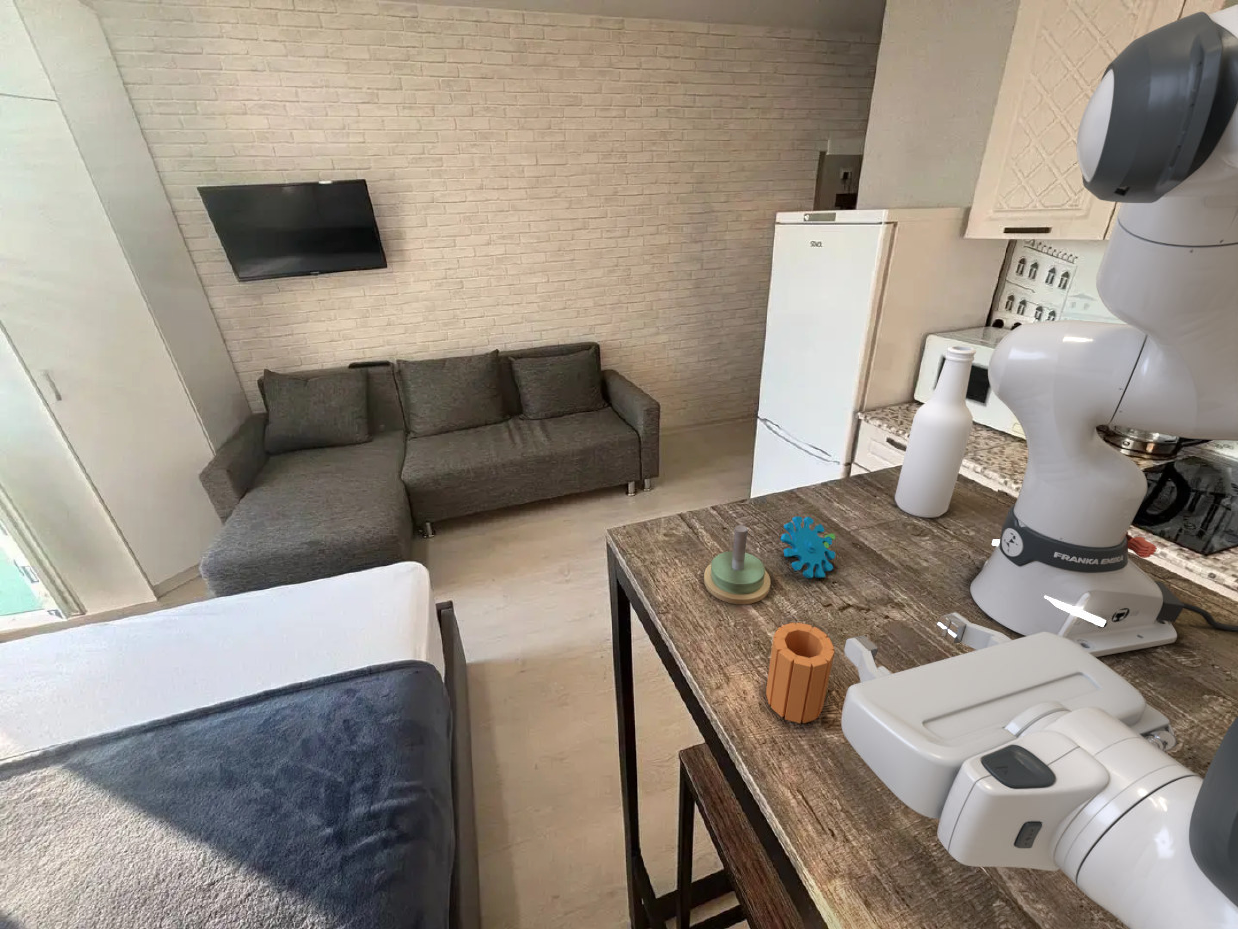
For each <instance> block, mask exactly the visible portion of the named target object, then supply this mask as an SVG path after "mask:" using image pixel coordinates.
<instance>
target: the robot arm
mask: <svg viewBox="0 0 1238 929" xmlns="http://www.w3.org/2000/svg"><path fill="white" fill-rule="evenodd" d="M1081 116H1082V117H1081V120H1080V122H1079V126H1078V129H1077V136H1076V147H1075V148H1076V158H1077V163H1078V166H1079V170H1080V172H1081V177H1082V185H1083V188H1085V189H1086V190H1087V191H1088V192H1090V193H1091V194H1092V195H1093V196H1094V197H1096V198H1097V199H1098V200H1099V201H1104V202H1111V203H1121V204H1120V206H1119V210H1118V212H1117V215H1116V217H1115V221H1114V224H1113V227H1112V230H1111V233H1110V235H1109V238H1108V242H1107V244H1106V247H1105V250H1104V252H1103V256H1102V258H1101V262H1100V265H1099V267H1098V271H1097V273H1096V277H1095V287H1096V291H1097V294H1098V297H1099V298H1100V300H1101V302H1102V303H1103V306H1104V307H1105V308H1106V309H1107V310H1108V312H1109V313H1110V314H1111V315H1113V316H1114V317H1115V318H1117V319H1118V320H1120V321H1122V322H1123V323H1117V322H1116V323H1115V322H1102V321H1092V320H1080V319H1079V320H1078V319H1064V320H1063V319H1062V320H1060V319H1059V320H1046V321H1035V322H1024V323H1021V324H1020V325H1018V326H1017V327H1015V328H1014V329H1012V330H1010V331H1009V332H1008V333H1007V334H1006V335H1004V336H1003V337H1002V339H1001V340H1000V341H999V342H998V343H997V345H996V346H995V347H994V349H993V351H992V354H991V356H990V358H989V361H988V365H987V366H988V367H987V376H988V377H987V378H988V382H989V385H990V388H991V390H992V392H993V393H994V395H995V396H996V398H997V399H998V400H999V401H1001V403H1003V404H1004V405H1005V406H1006V407H1007V408H1008V409H1009V411H1010V412H1011V413H1012V414H1013V415H1014V417H1015V418H1016V420H1017V421H1018V423H1019V425H1020V427H1021V430H1022V432H1023V434H1024V437H1025V441H1026V446H1027V461H1026V467H1025V471H1024V475H1023V479H1022V483H1021V485H1020V489H1019V492H1018V495H1017V499H1016V501H1015V503H1013V504H1011V506H1010V508H1009V509H1008V512H1007V514H1006V517H1005V519H1004V521H1003V523H1002V527H1001V532H1000V538H999V539H992V543H991V545H992V546H995V547H994V549H993V551H992V553H991V555H990V556H989V558H988V559H987V560H986V561H985V562H984V564H983V566H982V569H981V571H980V572H979V573H978V575H976V577H975V578H974V579H973V580H972V581H971V583H970V588H969V590H970V595H971V597H972V599H973V601H974V602H975V603H976V605H978V607H979V609H981V610H982V611H983V612H984V613H985V614H986V615H987V616H989V617H990V619H993V620H994V621H996V622H997V623H999V624H1000V625H1002V626H1004V627H1006V628H1008V629H1009V630H1011V631H1013V632H1015V633H1018V634H1020V635H1022V637H1019V638H1016V639H1011V638H1010V637H1009V636H1007V635H1005V634H1004V633H1003V632H1000V631H997V630H995V629H992V628H988V627H985V626H982V625H980V624H976V623H972V622H971V621H969V620H968V619H966V618H965V617H964V616H962V615H961V614H959V613H958V612H951V613H946V614H943V615H940V616H938V622H937V623H936V627H935V628H936V632H938V634H940V635H941V636H943V637H945V639H946V640H947V641H949V643H951V644H952V645H954V644H958V643H961V644H963V645H964V646H967V647H969V648H971V649H973V651H968V652H966V653H961V654H958V655H955V656H951V657H947V658H944V659H941V660H937V661H933V662H930V663H926V664H922V665H919V666H915V667H911V668H907V669H904V670H901V671H897V672H895V673H892V672H891V671H890V670H888V668H887V667H886V666H883V665H881V666H878V667H877V664H876V656H877V654H878V651H879V647H878V646H877V645H876V644H875V643H874V642H872V641H871V640H869V638H868V637H867V636H866V635H858V636H854V637H850V638H847V639H846V641H845V645H844V649H843V650H844V651H843V652H844V655H845V657H846V658H847V659H848V660H849V661H850V662H851V664H853V665H854V667H856V668H857V674H858V677H859V682H857V683H854V684H852V685H850V686H849V687H848V688H847V690H846V694H845V697H844V701H843V705H842V710H841V717H840V722H841V725H840V726H841V730H842V734H843V735H844V737H845V738H846V740H847V742H848V743H849V744H850V745H851V747H852V748H853V749H854V751H855V752H856V753H857V754H858V756H860V758H861V759H862V760H863V762H864V763H865V764H866V765H867V767H869V769H871V771H872V772H873V773H874V774H875V775H876V776H877V777H878V778H879V780H880V781H881V782H882V783H883V784H884V785H885V787H887V789H888V790H890V791H891V792H892V794H893V795H895V796H896V798H898V800H899V801H901V802H902V803H903V804H905V805H906V806H907V807H908V808H910V810H912V811H914V812H916V813H917V814H919V815H921V816H922V817H923V816H924V817H925V818H929V819H934V820H939V821H938V826H937V831H936V835H937V838H938V841H939V842H940V843H941V845H942V846H943V848H944V849H945V850H946V851H947V853H948V854H949V855H950V856H951V857H952V858H953V859H954V860H955V861H956V862H958V863H959V864H961V865H963V866H967V867H974V868H975V867H976V868H977V867H979V868H983V867H984V868H988V867H989V868H1017V869H1018V868H1019V869H1032V870H1040V871H1048V872H1057V871H1060V870H1061V872H1062V873H1063V874H1064V875H1065V876H1066V877H1067V878H1068V879H1069V880H1070V881H1071V882H1072V883H1073V884H1074V885H1075V886H1076V887H1077V888H1078V889H1079V890H1080V891H1081V892H1082V893H1083V894H1084V895H1085V896H1086V897H1088V898H1089V899H1090V900H1091V901H1093V902H1094V903H1095V904H1097V905H1098V906H1100V907H1101V908H1103V909H1104V910H1105V911H1107V912H1108V913H1109V914H1111V915H1112V916H1114V917H1115V918H1117V920H1119V921H1120V923H1122V924H1123V925H1124V926H1126V927H1127V928H1128V929H1238V716H1236V718H1234V720H1233V721H1232V723H1231V724H1230V725H1229V727H1228V728H1227V730H1226V733H1225V734H1224V736H1223V738H1222V739H1221V741H1220V743H1219V746H1218V747H1217V749H1216V752H1215V754H1214V755H1213V757H1212V759H1211V761H1210V764H1209V767H1208V769H1207V771H1206V773H1205V776H1204V778H1202V777H1201V776H1199V775H1198V774H1196V773H1195V772H1194V771H1192V770H1191V769H1189V768H1187V767H1186V766H1185V765H1183V764H1182V763H1181V762H1179V761H1178V760H1176V759H1175V758H1173V757H1172V756H1171V755H1170V754H1168V753H1166V752H1169V751H1171V750H1174V748H1175V747H1176V746H1177V744H1178V740H1177V737H1176V733H1175V730H1174V728H1173V725H1172V724H1171V721H1170V720H1169V718H1168V717H1167V716H1165V714H1163V713H1162V712H1160V711H1159V710H1157V709H1156V708H1154V707H1153V706H1152V705H1150V704H1148V703H1147V701H1146V698H1145V697H1144V696H1143V695H1142V693H1141V692H1140V691H1139V690H1138V689H1137V688H1136V687H1135V686H1133V685H1132V684H1131V683H1130V682H1129V681H1127V680H1126V679H1125V678H1124V677H1122V676H1121V675H1120V674H1119V673H1117V672H1116V671H1114V670H1113V669H1112V668H1111V667H1109V666H1108V665H1107V664H1105V663H1104V662H1102V661H1101V660H1100V659H1099V658H1098V657H1102V656H1109V655H1113V654H1119V653H1125V652H1131V651H1137V650H1142V649H1147V648H1153V647H1157V646H1163V645H1170V644H1173V643H1175V642H1176V640H1177V639H1178V633H1177V631H1176V629H1175V627H1174V626H1173V624H1172V623H1176V621H1177V619H1178V618H1179V616H1180V614H1181V613H1182V612H1183V610H1188V611H1190V612H1193V613H1196V614H1197V615H1200V616H1201V617H1202V618H1203V619H1204V620H1205V622H1206V623H1207V624H1208V625H1210V626H1211V627H1213V628H1215V629H1219V630H1221V631H1227V632H1233V633H1234V632H1235V633H1236V632H1237V633H1238V625H1231V624H1225V623H1221V622H1218V621H1216V620H1215V619H1214V617H1213V616H1212V615H1211V613H1210V612H1208V611H1206V610H1205V609H1203V608H1201V607H1199V606H1196V605H1195V604H1194V605H1193V604H1191V603H1187V602H1183V601H1181V600H1180V599H1179V598H1178V597H1177V596H1176V595H1175V594H1174V592H1172V591H1171V590H1170V589H1169V587H1167V586H1166V585H1165V584H1164V582H1162V581H1157V580H1154V579H1152V578H1151V577H1150V576H1149V575H1148V574H1147V573H1146V572H1145V571H1144V570H1142V569H1141V568H1140V567H1139V566H1138V565H1137V564H1135V562H1134V561H1132V560H1131V559H1130V558H1129V551H1133V553H1134V554H1136V555H1137V556H1138V557H1139V558H1142V559H1147V558H1150V557H1151V556H1153V555H1155V553H1157V549H1158V548H1157V545H1156V544H1154V543H1152V542H1150V541H1147V540H1146V538H1144V537H1142V536H1134V537H1133V536H1132V535H1131V534H1129V529H1130V527H1131V526H1132V523H1133V521H1134V519H1135V517H1136V515H1137V513H1138V511H1139V509H1140V506H1141V505H1142V503H1143V501H1144V499H1145V497H1146V495H1147V492H1148V480H1147V477H1146V475H1145V473H1144V472H1143V470H1142V469H1141V467H1140V466H1139V465H1138V464H1137V463H1135V461H1134V460H1132V459H1131V458H1129V457H1128V456H1127V455H1126V454H1124V453H1122V451H1120V450H1118V449H1116V448H1115V447H1113V446H1112V445H1110V444H1108V443H1107V442H1105V441H1104V440H1103V439H1102V438H1101V436H1100V434H1099V432H1098V430H1097V427H1098V426H1101V425H1106V426H1108V425H1110V426H1115V427H1121V428H1127V429H1133V430H1137V431H1143V432H1148V433H1149V432H1150V433H1155V434H1161V435H1166V436H1172V437H1177V438H1183V439H1189V440H1205V441H1206V440H1208V441H1228V442H1229V441H1230V442H1231V441H1232V442H1238V3H1237V4H1234V5H1231V6H1229V7H1227V8H1223V9H1222V10H1219V11H1216V12H1213V13H1210V14H1208V13H1207V12H1205V11H1198V12H1195V13H1192V14H1190V15H1187V16H1184V17H1181V18H1179V19H1176V20H1174V21H1172V22H1169V23H1167V24H1164V25H1162V26H1160V27H1158V28H1156V29H1153V30H1152V31H1150V32H1149V31H1148V32H1147V33H1146V34H1143V35H1142V36H1139V37H1138V38H1136V39H1134V40H1133V41H1131V42H1130V43H1129V44H1128V45H1127V46H1126V47H1125V48H1124V49H1123V50H1122V51H1121V52H1120V53H1119V54H1118V55H1117V56H1116V57H1115V58H1114V59H1113V60H1112V61H1111V62H1110V63H1109V64H1108V65H1107V67H1106V69H1105V71H1104V72H1103V75H1102V77H1101V79H1100V82H1099V83H1098V85H1097V86H1096V88H1095V89H1094V91H1093V93H1092V95H1091V96H1090V98H1089V100H1088V102H1087V104H1086V106H1085V109H1084V111H1083V113H1082V115H1081Z"/></svg>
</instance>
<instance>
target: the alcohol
mask: <svg viewBox="0 0 1238 929" xmlns="http://www.w3.org/2000/svg"><path fill="white" fill-rule="evenodd" d="M946 351H947V353H946V354H945V357H944V358H945V360H944V363H943V366H942V368H941V372H940V375H939V377H938V381H937V384H936V386H935V389H934V391H933V394H932V396H931V397H930V399H929V400H928V401H926V402H925V403H923V404H922V405H920V407H919V408H918V409H917V411H916V412H915V414H914V416H913V420H912V423H911V428H910V431H909V435H908V439H907V444H906V448H905V453H904V457H903V461H902V465H901V468H900V473H899V477H898V482H897V486H896V491H895V494H894V501H895V503H896V505H897V507H898V508H899V509H900V510H902V511H903V512H905V513H907V514H908V515H912V516H915V517H919V518H926V519H933V518H938V517H941V516H942V515H943V514H945V513H946V512H947V511H948V510H949V508H950V504H951V500H952V496H953V493H954V490H955V486H956V483H957V481H958V476H959V474H960V470H961V467H962V463H963V460H964V456H965V453H966V449H967V448H968V442H969V439H970V437H971V433H972V430H973V426H974V425H973V424H974V423H973V422H974V420H973V414H972V413H971V410H970V409H969V407H968V406H967V401H966V397H967V394H968V393H967V392H968V387H969V382H970V377H971V376H970V375H971V371H972V366H973V362H974V361H975V355H976V353H977V350H976V349H975V348H973V347H971V346H965V345H952V346H949V347H947V348H946Z"/></svg>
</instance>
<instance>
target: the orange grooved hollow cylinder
mask: <svg viewBox="0 0 1238 929" xmlns="http://www.w3.org/2000/svg"><path fill="white" fill-rule="evenodd" d="M770 652H771V653H770V661H769V666H768V674H767V680H766V681H767V682H766V691H765V696H766V699H767V702H768V705H769V706H770V708H771V709H772V710H773V711H774V713H776V714H777V715H778V716H780V718H784V720H786V721H789V722H793V723H797V724H801V723H802V724H806V723H809V722H812V721H815V720H817V719H818V718H819V717H820V715H821V712H822V711H823V709H824V705H825V700H826V695H827V691H828V686H829V680H830V676H831V672H832V666H833V662H834V657H835V647H834V645H833V642H832V640H831V638H830V637H829V636H828V634H826V633H825V632H824V631H822V630H821V629H819V628H818V627H817V626H813V625H811V624H808V623H802V622H798V621H797V622H796V623H795V622H794V621H793V622H789V623H786V624H782V625H781V626H778V628H777V630H776V631H775V633H774V634H773V637H772V644H771V651H770Z"/></svg>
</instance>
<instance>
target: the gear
mask: <svg viewBox="0 0 1238 929" xmlns="http://www.w3.org/2000/svg"><path fill="white" fill-rule="evenodd" d="M814 522H815V521H814V519H813V518H812V517H810V516H806V517H804V518H803V517H802V516H794V517H792V520H791V521H789V522H787V523H785V524H784V525H783V529H785V531H786V532H784V533H783V534H781V537H780V542H782V543H784V544H786V545H789V546H790V547H787V548H784V549H783V555H784V557H785V558H791V557H795V558H798V560H796V561H793V562H792V563H791V568H792V569H793V570H794V571H795V572H797V571H800V570H802V568H803V566H804V565H806V566H807V569H805V570H803V572H802V576H803V577H805V578H806V579H808V580H809V579H812V578H813V577H815V578H816V579H822V578H825V577H826V572H830V571H832V570H833V569H834V566H833V564H832V563H831V562H830V561H832V560H835V558H836V552H835V551H834V550H830V549H829V548H830V546H831V545H833V540H835V539H836V534H835V533H833V532H832V533H829V534H826V535H824V537H821V536H820V535H819V534H821V533H824V532H825V528H824V526H823V524H822V523H820V524H817V525H815V526H814V528H813V530H812V529H811V528H810V526H811V525H813V524H814ZM802 523H803V527H802ZM814 568H815V571H814Z"/></svg>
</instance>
